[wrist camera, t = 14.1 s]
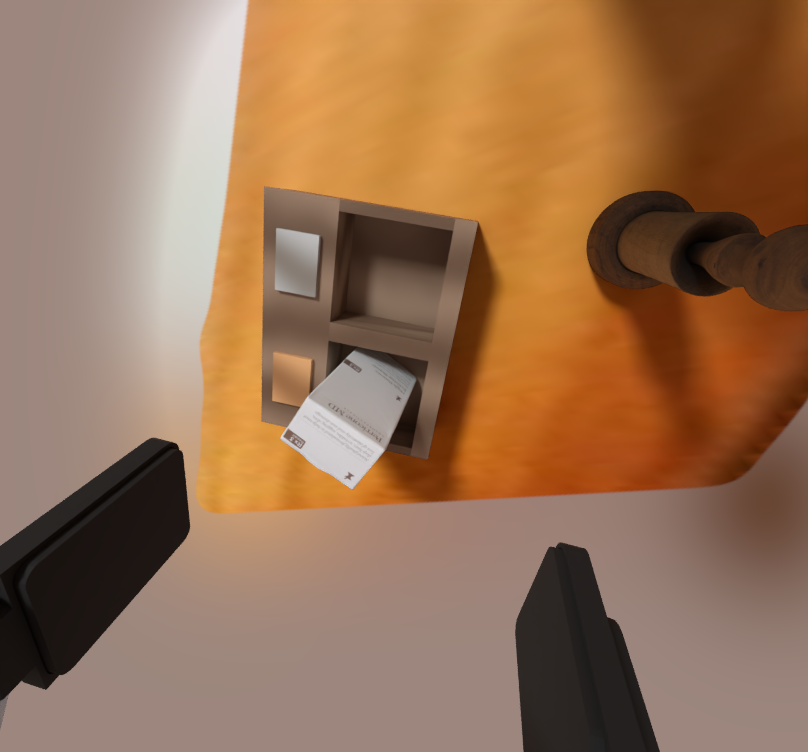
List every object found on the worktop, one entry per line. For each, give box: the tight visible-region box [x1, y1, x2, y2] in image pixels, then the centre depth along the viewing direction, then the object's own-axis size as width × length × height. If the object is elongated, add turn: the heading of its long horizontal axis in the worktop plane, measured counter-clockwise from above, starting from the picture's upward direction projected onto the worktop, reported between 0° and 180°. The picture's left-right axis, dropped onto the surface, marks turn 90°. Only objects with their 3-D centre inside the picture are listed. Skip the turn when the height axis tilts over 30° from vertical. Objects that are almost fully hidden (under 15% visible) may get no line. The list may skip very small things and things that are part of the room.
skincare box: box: [281, 347, 417, 490], centre depth 31 cm, size 6×4×12 cm
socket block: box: [262, 187, 478, 460], centre depth 33 cm, size 19×15×5 cm
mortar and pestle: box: [587, 191, 808, 311], centre depth 21 cm, size 7×6×18 cm
